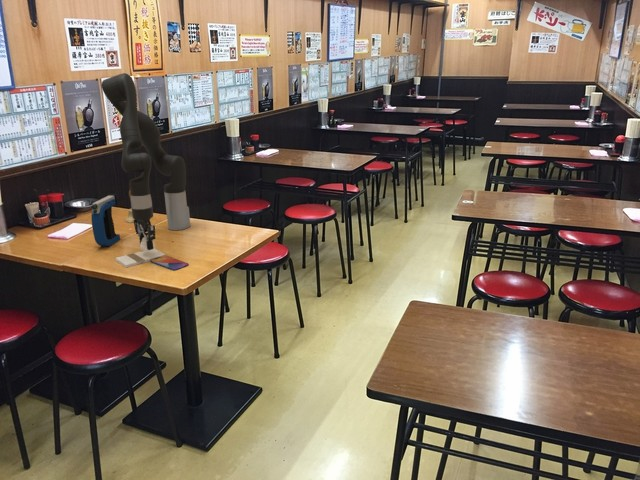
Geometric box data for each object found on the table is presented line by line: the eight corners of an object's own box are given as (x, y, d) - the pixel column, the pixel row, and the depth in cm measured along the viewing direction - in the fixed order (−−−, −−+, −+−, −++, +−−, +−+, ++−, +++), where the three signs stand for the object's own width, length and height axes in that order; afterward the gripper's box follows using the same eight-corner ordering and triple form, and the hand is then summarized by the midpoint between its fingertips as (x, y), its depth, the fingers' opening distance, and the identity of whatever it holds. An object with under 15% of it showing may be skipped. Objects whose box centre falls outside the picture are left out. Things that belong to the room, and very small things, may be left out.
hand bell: (140, 216, 255) (137, 185, 250) (145, 221, 249) (141, 188, 243) (123, 219, 251) (119, 187, 246) (127, 224, 244) (123, 191, 239)
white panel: (154, 250, 210) (153, 248, 210) (165, 257, 203) (165, 254, 203) (115, 260, 200) (114, 257, 199) (126, 267, 193) (125, 265, 192)
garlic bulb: (156, 233, 202) (147, 237, 197) (158, 247, 204) (149, 252, 199) (144, 231, 204) (135, 235, 199) (146, 246, 206) (137, 250, 201)
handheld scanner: (124, 237, 226) (117, 193, 219) (106, 250, 210) (98, 203, 204) (114, 237, 226) (106, 193, 220) (95, 250, 211) (87, 203, 204)
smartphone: (174, 272, 190) (174, 269, 189) (149, 262, 198) (149, 260, 198) (190, 266, 195) (190, 263, 195) (165, 257, 204) (165, 254, 203)
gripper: (159, 207, 194) (164, 249, 199) (142, 200, 204) (147, 240, 209) (140, 211, 189) (146, 254, 194) (124, 203, 199) (129, 245, 204)
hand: (146, 247), depth 202 cm, fingers closed on garlic bulb, 5 cm apart
